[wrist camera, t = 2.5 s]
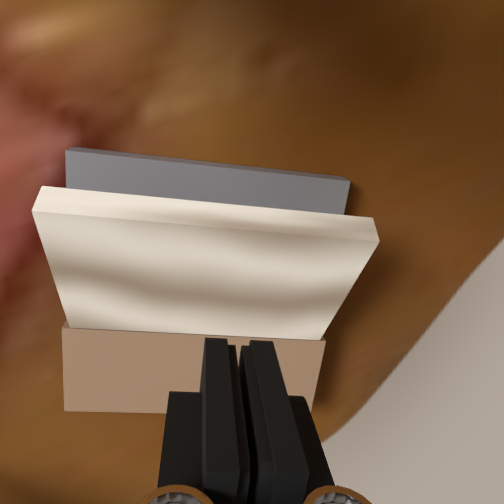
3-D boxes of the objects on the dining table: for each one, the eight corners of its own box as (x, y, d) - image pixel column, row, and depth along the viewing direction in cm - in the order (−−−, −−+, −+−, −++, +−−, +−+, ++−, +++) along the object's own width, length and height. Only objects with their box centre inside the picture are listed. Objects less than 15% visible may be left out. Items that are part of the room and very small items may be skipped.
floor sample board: (73, 146, 24) (56, 154, 21) (342, 176, 26) (359, 186, 24) (77, 380, 30) (64, 411, 27) (300, 388, 32) (309, 416, 29)
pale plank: (41, 186, 18) (31, 211, 17) (372, 217, 20) (379, 241, 19) (75, 305, 25) (69, 327, 25) (316, 319, 28) (319, 340, 27)
